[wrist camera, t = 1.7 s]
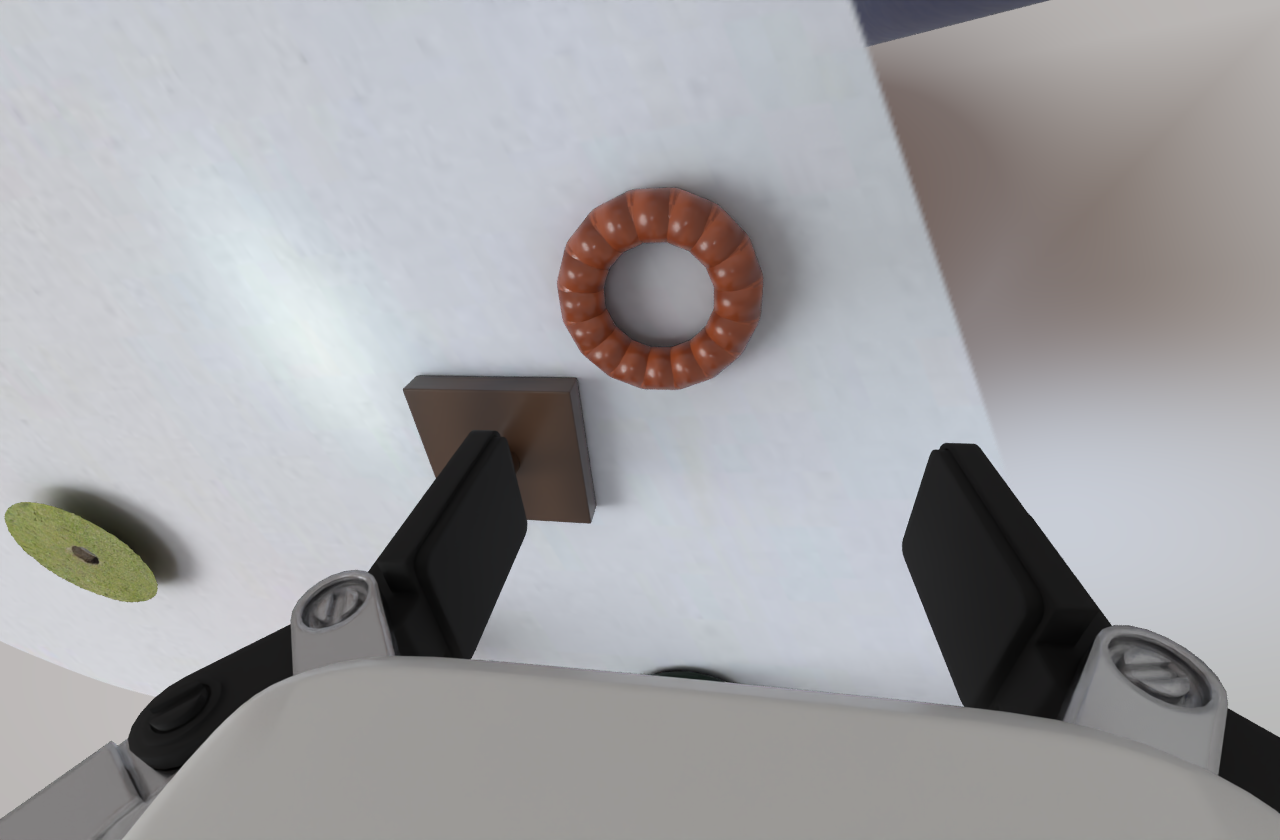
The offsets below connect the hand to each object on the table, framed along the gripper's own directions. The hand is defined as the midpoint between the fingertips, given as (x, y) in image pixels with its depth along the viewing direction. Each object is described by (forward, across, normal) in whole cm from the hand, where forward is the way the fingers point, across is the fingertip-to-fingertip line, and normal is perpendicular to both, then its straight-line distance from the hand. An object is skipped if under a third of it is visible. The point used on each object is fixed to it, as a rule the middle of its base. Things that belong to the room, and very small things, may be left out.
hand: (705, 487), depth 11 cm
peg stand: (+13, +11, +9) cm, 20 cm away
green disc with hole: (+14, +48, +20) cm, 54 cm away
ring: (+12, +2, 0) cm, 12 cm away
